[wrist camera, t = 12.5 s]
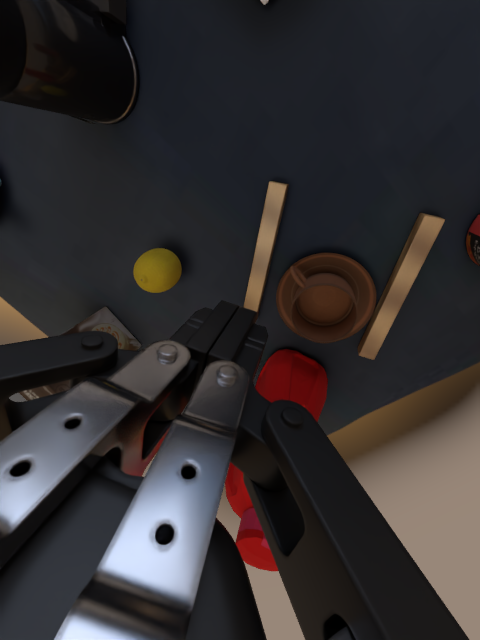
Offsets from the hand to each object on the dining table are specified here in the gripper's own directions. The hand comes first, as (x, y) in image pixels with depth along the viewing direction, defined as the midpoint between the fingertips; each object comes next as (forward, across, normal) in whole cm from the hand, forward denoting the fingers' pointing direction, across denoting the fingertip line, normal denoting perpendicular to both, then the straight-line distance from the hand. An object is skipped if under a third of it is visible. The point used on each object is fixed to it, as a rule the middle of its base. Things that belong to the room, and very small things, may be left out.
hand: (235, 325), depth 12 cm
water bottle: (+27, -6, +21) cm, 35 cm away
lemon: (+27, +16, +10) cm, 33 cm away
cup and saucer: (+27, -6, +8) cm, 29 cm away
